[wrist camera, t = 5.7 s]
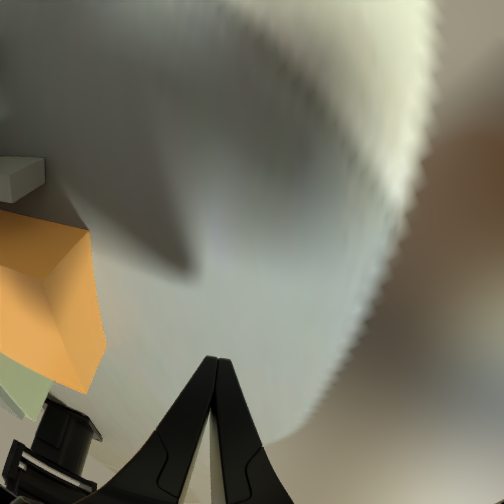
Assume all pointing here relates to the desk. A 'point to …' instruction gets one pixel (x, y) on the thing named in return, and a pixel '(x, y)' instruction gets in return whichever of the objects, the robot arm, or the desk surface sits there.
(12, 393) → the sage green lidded box
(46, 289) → the amber cuboid
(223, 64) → the desk surface
